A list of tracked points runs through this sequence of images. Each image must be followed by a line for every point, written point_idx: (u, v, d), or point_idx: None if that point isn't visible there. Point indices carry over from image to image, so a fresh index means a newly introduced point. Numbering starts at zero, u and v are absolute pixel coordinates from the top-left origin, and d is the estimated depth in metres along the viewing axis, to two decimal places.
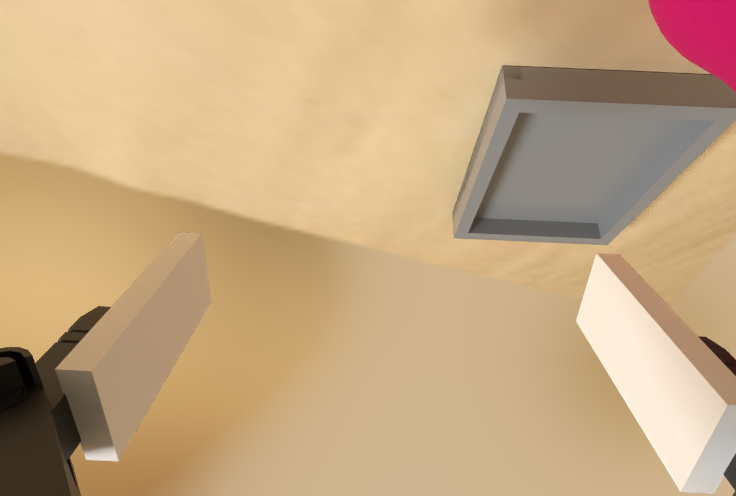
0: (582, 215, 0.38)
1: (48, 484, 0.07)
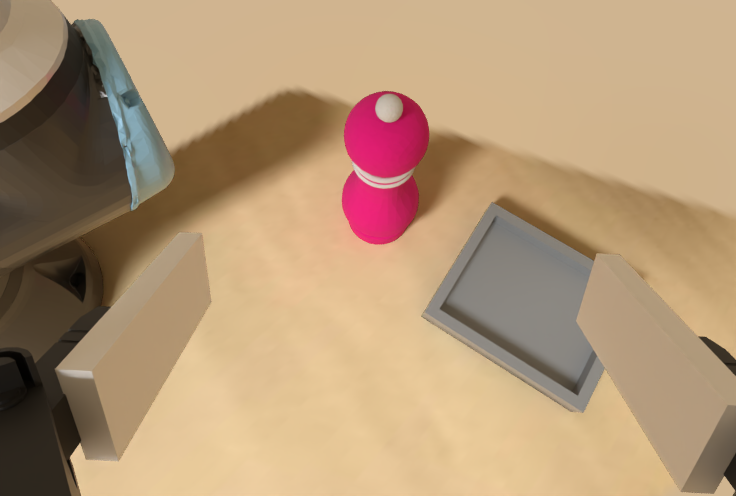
0: None
1: (47, 484, 0.07)
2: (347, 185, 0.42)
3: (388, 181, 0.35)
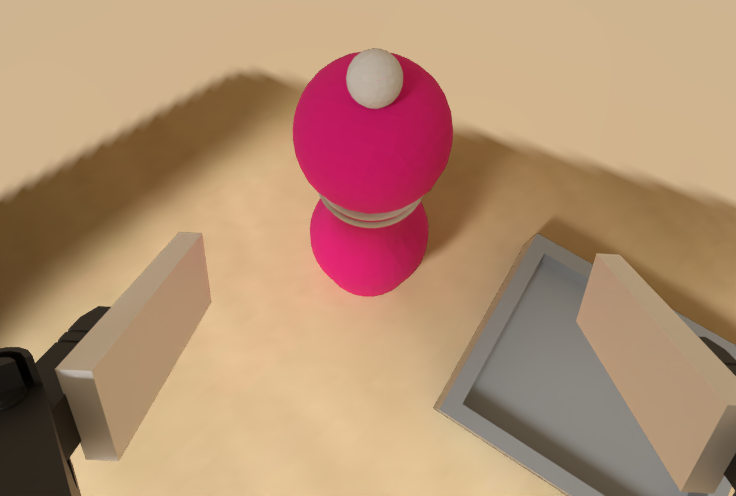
0: None
1: (47, 484, 0.07)
2: (315, 215, 0.27)
3: (378, 217, 0.19)
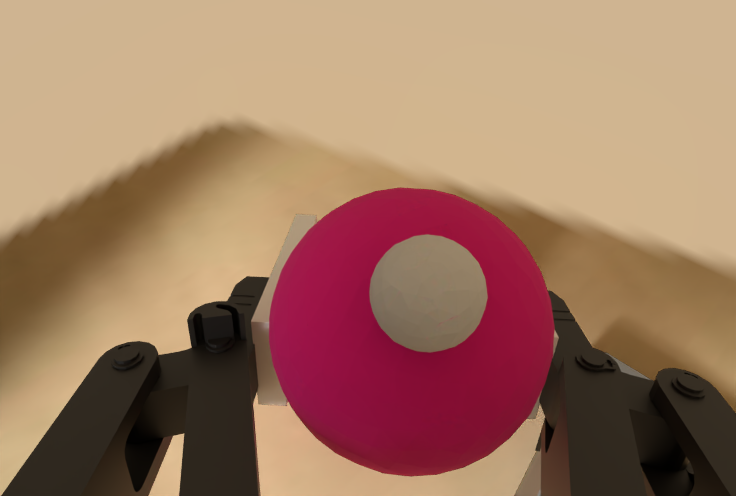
0: None
1: (239, 427, 0.09)
2: None
3: None
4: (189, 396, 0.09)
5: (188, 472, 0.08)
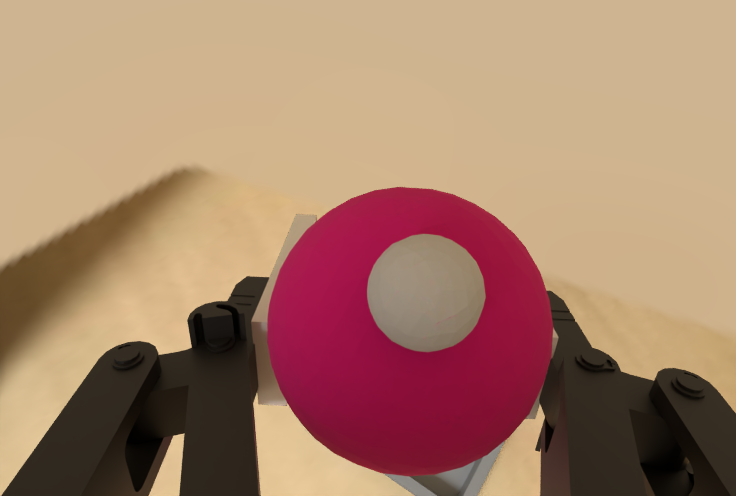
0: None
1: (239, 427, 0.09)
2: None
3: None
4: (189, 396, 0.09)
5: (188, 472, 0.08)
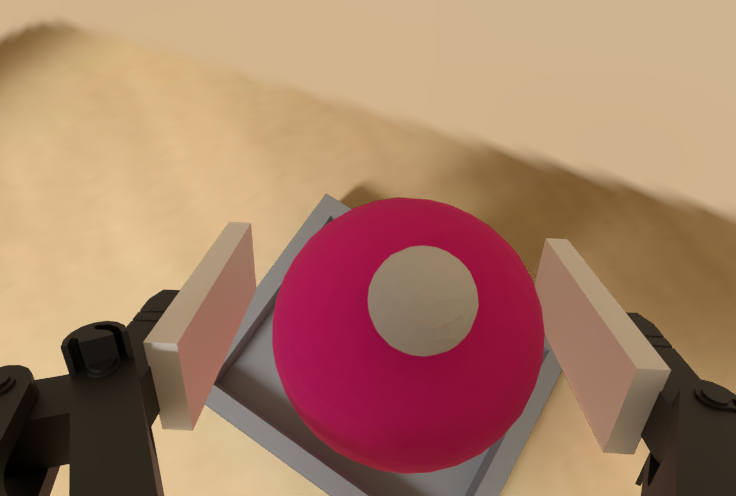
0: None
1: (133, 451, 0.08)
2: None
3: None
4: (72, 429, 0.08)
5: None
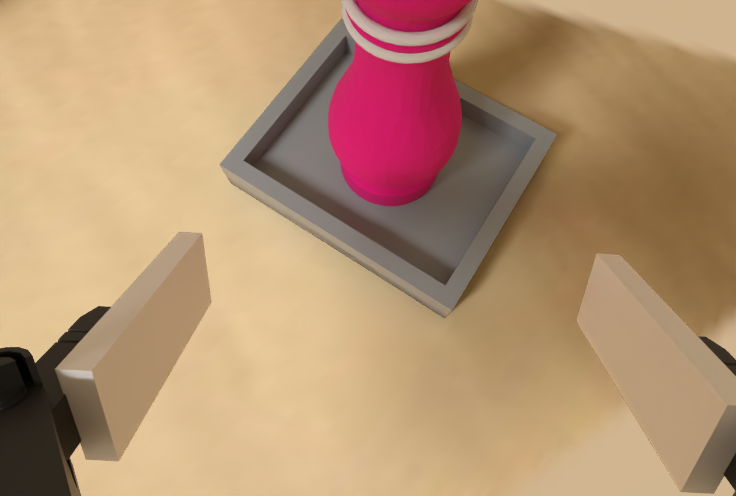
0: (499, 162, 0.30)
1: (47, 484, 0.07)
2: (335, 91, 0.23)
3: (418, 39, 0.16)
4: None
5: None
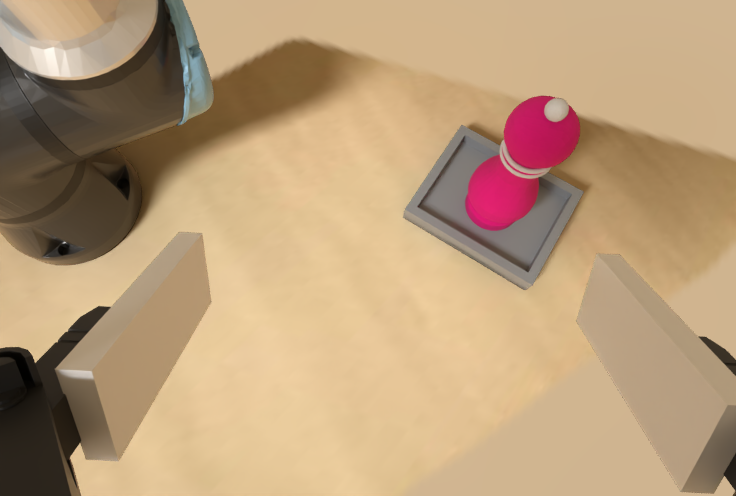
0: (551, 206, 0.54)
1: (47, 484, 0.07)
2: (478, 177, 0.48)
3: (536, 172, 0.41)
4: None
5: None
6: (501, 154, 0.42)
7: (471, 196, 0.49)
